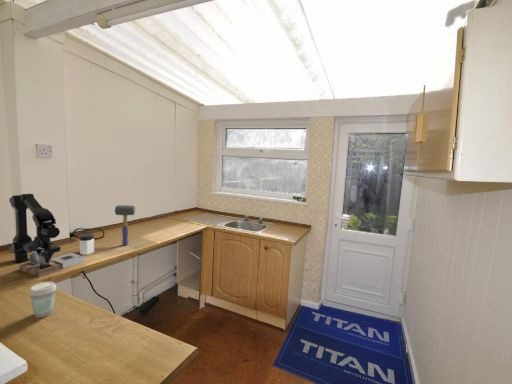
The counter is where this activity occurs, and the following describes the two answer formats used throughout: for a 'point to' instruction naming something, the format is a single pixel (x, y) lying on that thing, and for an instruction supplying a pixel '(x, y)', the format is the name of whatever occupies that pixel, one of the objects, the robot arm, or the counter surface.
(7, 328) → the counter surface
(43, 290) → the coffee cup
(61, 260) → the socket
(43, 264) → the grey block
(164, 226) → the counter surface
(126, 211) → the rubber mallet
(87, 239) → the jar
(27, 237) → the robot arm
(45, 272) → the rack
